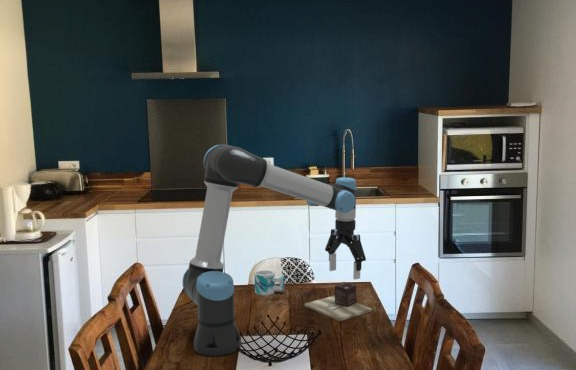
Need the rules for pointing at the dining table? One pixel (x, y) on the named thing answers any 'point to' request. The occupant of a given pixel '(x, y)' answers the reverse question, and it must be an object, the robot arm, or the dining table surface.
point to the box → (345, 294)
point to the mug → (267, 282)
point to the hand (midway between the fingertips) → (344, 274)
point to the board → (337, 308)
